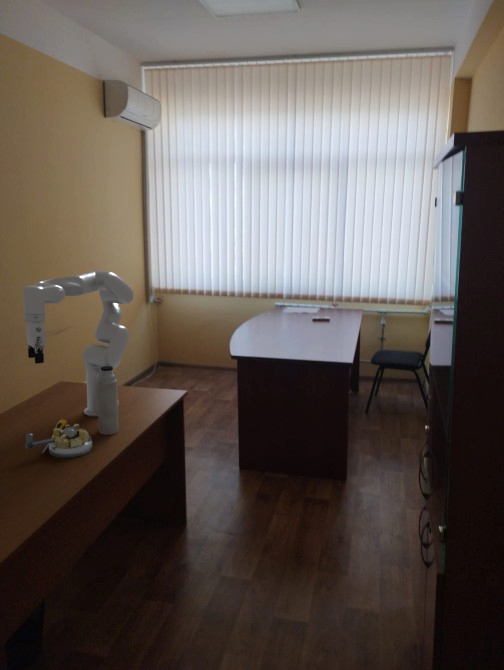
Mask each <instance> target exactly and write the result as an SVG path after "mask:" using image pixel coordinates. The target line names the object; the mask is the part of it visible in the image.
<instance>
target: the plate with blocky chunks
mask: <svg viewBox="0 0 504 670" xmlns="http://www.w3.org/2000/svg"><path fill="white" fill-rule="evenodd" d="M63 434H67V437H68V440H70V439H75V438H78V437H77V428H75V427H73V426H70V423H69V424H68V423H67V425H65V429H63ZM91 450H93V438H92V437H91V435H89V440H88V441H87V442H86V443H85V444H82V445H81V446H77V447H73V448H70V447H69V448H59V447H56V446H55V445H54V444H53V443H49V446H48V452H49V454H50V455H51V456H52V457H55V458H59V459H70V458H77V457H81V456H84V455H86V454H88V453H89V452H91Z"/></svg>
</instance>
